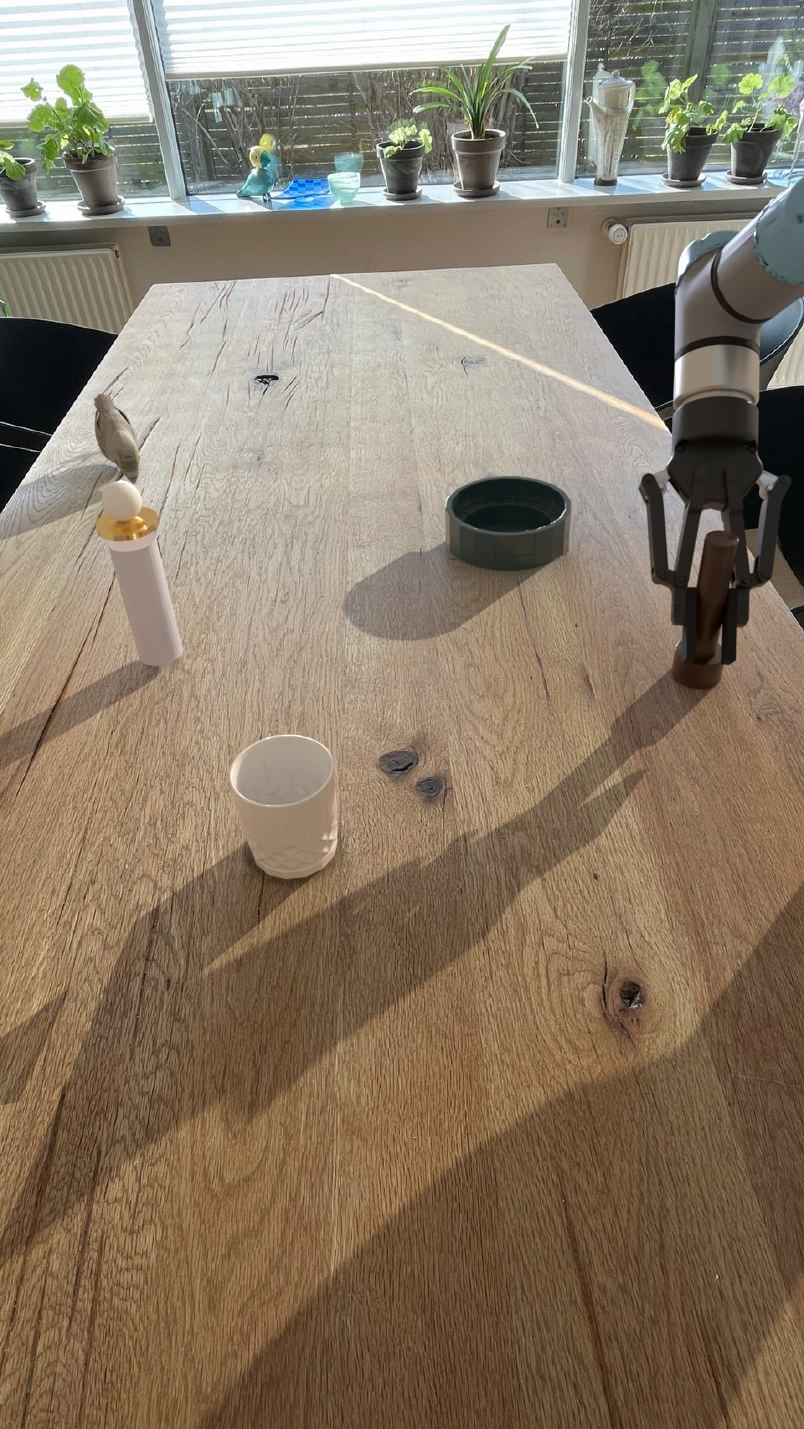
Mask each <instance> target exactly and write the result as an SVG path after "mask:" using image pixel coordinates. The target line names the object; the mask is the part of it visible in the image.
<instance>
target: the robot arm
mask: <svg viewBox="0 0 804 1429" xmlns="http://www.w3.org/2000/svg"><path fill="white" fill-rule="evenodd" d="M677 269H678V271H677V281H676V282H675V289H674V301H675V311H674V312H675V313H674V314H675V318H674V374H673V376H674V377H673V401H672V406H673V409H674V410H675V412H674V413H673V414H672V423H671V424H672V426H671V429H672V430H671V453H670V454H671V455H670V459H669V460H668V462H667V463H666V464H667V465H666V466H665V469H663V470H660V471H658V472H655V473H653V474H652V473H650V472H647V473H644V474H643V475H642V476H641V479H640V482H639V484H638V492H639V494H640V496H641V498H642V500H643V503H644V504H645V507H646V520H647V536H648V550H649V566H650V577H651V578H650V579H651V582H652V583H653V584H654V585H660V586H662V587H666V588H667V589H669V591H670V596H671V601H670V621H671V624H672V626H681V641H682V654H681V663H688V664H690V663H691V662H692V661H693V660H695V644H696V610H697V587H696V586H689V582H690V577H691V572H692V566H693V561H694V555H695V549H696V543H697V538H698V532H699V527H700V523H701V516H702V512H704V511H707V510H714V511H718V512H720V519H721V522H722V525H723V531H728V532H731V533H733V534H735V535H736V536H737V537H738V539H739V542H738V547H737V552H736V557H735V562H734V567H733V572H732V576H731V581H730V587H729V591H728V596H727V601H726V606H725V611H724V616H723V621H722V626H721V641H720V642H721V644H720V645H721V665H724V666H731V665H732V664H733V663H735V662H736V661H737V641H738V637H737V636H738V628H744V627H746V626H747V624H748V622H749V621H750V595H751V594H750V593H751V590H753V589H757V588H762V587H763V586H764V585H766V584H767V583H768V582H769V581H770V580H771V579H772V577H773V573H774V564H775V556H776V548H777V540H778V532H779V524H780V517H781V510H782V501H783V499H784V497H785V495H786V493H787V491H788V490H789V488H790V486H791V483H792V479H791V477H790V476H789V475H788V474H781V475H779V476H777V475H775V474H773V473H771V472H768V471H766V470H765V469H764V464H763V462H762V460H761V459H760V457H759V453H758V452H759V450H758V449H759V448H758V447H759V412H760V411H759V409H758V407H757V404H758V403H759V401H760V360H761V359H760V358H761V334H762V333H761V331H762V327H763V325H764V324H765V323H768V322H769V321H771V320H772V319H773V318H775V317H777V316H778V315H779V314H780V313H781V312H783V311H784V310H786V309H788V308H789V307H790V306H791V305H793V304H794V303H795V302H797V301H799V300H801V299H802V298H804V176H802V177H800V178H799V179H797V181H796V182H794V183H793V184H791V185H790V186H789V187H788V188H785V189H784V190H782V191H781V192H780V193H779V194H778V195H777V196H776V197H773V198H772V199H771V200H769V203H768V204H767V205H765V207H764V208H763V209H762V210H761V211H760V212H759V213H758V214H756V216H755V217H754V218H753V219H751V221H750V222H749V223H747V225H746V226H745V227H744V228H743V229H741V230H737V229H723V230H722V229H721V230H716V231H712V232H709V233H707V234H706V236H705V237H699V238H695V239H694V240H693V241H692V242H690V243H689V244H688V245H687V246H686V247H685V249H684V250H683V251H682V253H681V255H680V257H679V261H678V268H677ZM668 483H669V484H670V485H671V487H672V488H673V489H674V491H675V492H676V493H677V495H678V496H679V498H680V499H681V500H682V502H683V503H684V507H683V512H682V522H681V527H680V528H681V529H680V533H679V539H678V545H677V548H676V549H677V550H676V556H675V560H674V567H673V570H672V569H670V568H669V556H668V542H667V528H666V513H665V512H666V511H665V501H664V496H665V494H666V492H667V489H668V486H667V484H668ZM755 484H757V485H758V487H759V492H758V495H759V497H760V498H761V499H762V500H763V501H762V504H761V508H760V513H759V519H758V528H757V536H756V544H755V551H754V557H753V558H754V560H753V565H752V566H753V567H752V572H751V569H750V561H749V552H748V545H747V537H746V529H745V521H744V501H743V499H745V497H746V495H747V494H748V493H749V492H750V490H751V489H752V488H753V487H754V485H755Z"/></svg>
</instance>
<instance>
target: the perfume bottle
mask: <svg viewBox="0 0 804 1429" xmlns="http://www.w3.org/2000/svg"><path fill="white" fill-rule="evenodd" d="M142 498H143V497H142V495H141V492H140V491H139V489H138V488H137V487H136V486H135V485H133V483H131V482H128V481H126V480H117V481H112V482H111V483H109V484H108V485H107V486H106V487H105V488H104V489H103V490H102V494H101V500H100V501H101V506H102V509H103V511H104V514H103V515H101V516H100V517H99V518H98V519H97V520H96V523H95V529H96V532H97V535H98V536H99V537H100V538H101V539H103V540H106V541H107V547H108V551H109V554H110V558H111V561H112V565H113V569H114V573H115V576H116V580H117V583H118V587H119V590H120V594H121V597H122V601H123V606H124V609H125V612H126V616H127V619H128V622H129V626H130V630H131V633H132V637H133V641H134V644H135V649H136V651H137V655H138V658H139V661H140V662H141V663H143V664H144V665H147V666H151V667H159V666H164V665H165V666H166V665H168V664H170V663H174V661H177V659H179V658H180V657H181V656H182V654H183V651H184V648H183V643H182V640H181V636H180V631H179V627H178V622H177V619H176V614H175V610H174V606H173V601H172V598H171V594H170V588H169V584H168V581H167V577H166V573H165V568H164V564H163V560H162V559H163V556H162V552H161V547H160V543H159V539H160V536H161V534H158V536H157V535H156V533H155V530H157V528H158V527H159V525H160V520H159V515H158V512H156V511H155V509H152V508H150V507H147V506H143V499H142Z"/></svg>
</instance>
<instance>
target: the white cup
mask: <svg viewBox="0 0 804 1429" xmlns="http://www.w3.org/2000/svg"><path fill="white" fill-rule="evenodd" d="M335 772H336V771H335V761H334V758H333V756H332V753H331V752H330V750H329V749H328V748H327V747H326V746H325V745H324V744H322V743H321V742H319V741H317V740H316V739H313V738H310V737H308V736H304V735H298V734H282V735H281V734H280V735H274V736H269V737H267V738H263V739H261V740H258V741H255V742H254V743H252V744H250V745H249V746H247V747H246V748H244V749H243V750H242V751H241V752H240V753H238V755H237V756H235V758H234V760H233V762H232V763H231V765H230V768H229V772H228V782H229V787H230V789H231V793H232V797H233V799H234V803H235V806H236V810H237V813H238V816H239V819H240V823H241V826H242V830H243V833H244V836H245V839H246V842H247V846H248V848H249V849H250V851H251V853H252V856H253V858H254V862H255V865H256V866H257V867H259V869H261V870H262V871H263V872H265V873H266V874H267V875H269V876H272V877H276V878H279V879H284V880H290V879H300V878H307V877H309V876H311V875H313V874H316V873H317V872H320V871H321V870H323V869H324V868H325V867H326V866H327V865H328V863H330V861H332V859H333V858H334V857H335V854H336V850H337V846H338V832H339V831H338V830H339V829H338V828H339V826H338V823H339V822H338V803H337V789H336V788H337V787H336V773H335Z"/></svg>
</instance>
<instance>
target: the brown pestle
mask: <svg viewBox="0 0 804 1429" xmlns="http://www.w3.org/2000/svg"><path fill="white" fill-rule="evenodd" d="M738 542H739V539H738V537H737V536H736V535H735V534H733V533H731V532H728V531H724V530H712V531H709V532H707V533H706V534H705V536H704V541H703V547H702V551H701V557H700V564H699V569H698V574H697V579H696V586H695V587H697V610H696V644H695V660H693V661H692V662H691V663H690V664H688V663H681V654H682V640H680V641H678V643H677V644H676V645H675V649H674V652H673V653H674V654H673V659H672V665H671V671H670V672H671V677H672V679H673V680H674V681H675V682H676V683H677V684H679V685H681V686H682V687H685V688H688V689H692V690H708V689H709V690H710V689H712V688H714V687H716V686H717V685H719V684H720V682H721V679H722V675H723V671H724V666H725V665H721V644H720V643H719V640H720V635H721V632H722V621H723V616H724V611H725V606H726V601H727V596H728V591H729V588H730V587H731V582H730V581H731V576H732V572H733V567H734V562H735V557H736V552H737V547H738Z"/></svg>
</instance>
